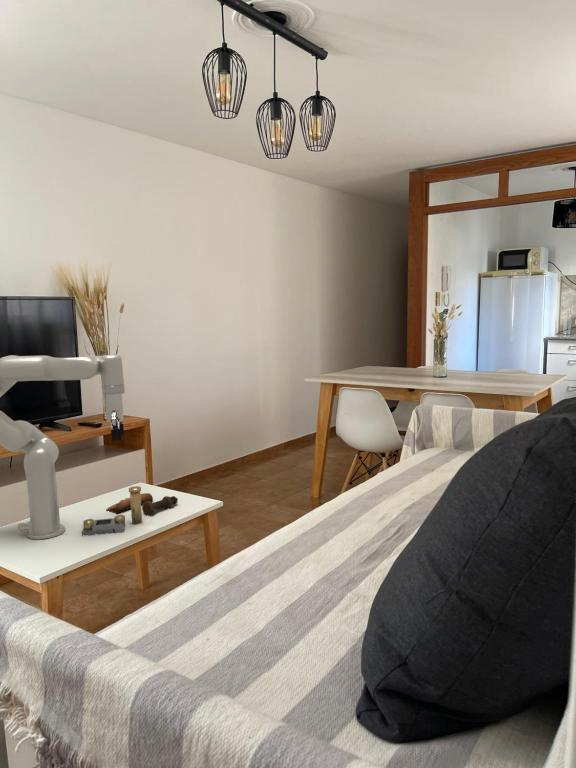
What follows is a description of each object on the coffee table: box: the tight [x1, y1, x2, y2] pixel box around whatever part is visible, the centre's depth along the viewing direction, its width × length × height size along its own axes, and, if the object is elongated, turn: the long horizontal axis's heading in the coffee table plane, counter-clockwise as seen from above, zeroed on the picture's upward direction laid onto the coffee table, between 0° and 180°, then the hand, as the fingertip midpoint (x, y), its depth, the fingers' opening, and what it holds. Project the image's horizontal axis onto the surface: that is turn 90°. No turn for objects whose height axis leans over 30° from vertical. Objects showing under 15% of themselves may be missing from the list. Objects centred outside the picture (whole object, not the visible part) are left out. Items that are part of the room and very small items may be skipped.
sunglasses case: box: [105, 492, 154, 515], centre depth 233 cm, size 18×7×7 cm
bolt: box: [141, 495, 179, 517], centre depth 228 cm, size 6×5×15 cm
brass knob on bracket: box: [81, 514, 126, 537], centre depth 207 cm, size 14×7×4 cm, turn 101°
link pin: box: [128, 485, 143, 525], centre depth 213 cm, size 4×4×13 cm
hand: (118, 437), depth 208 cm, fingers open, 9 cm apart
